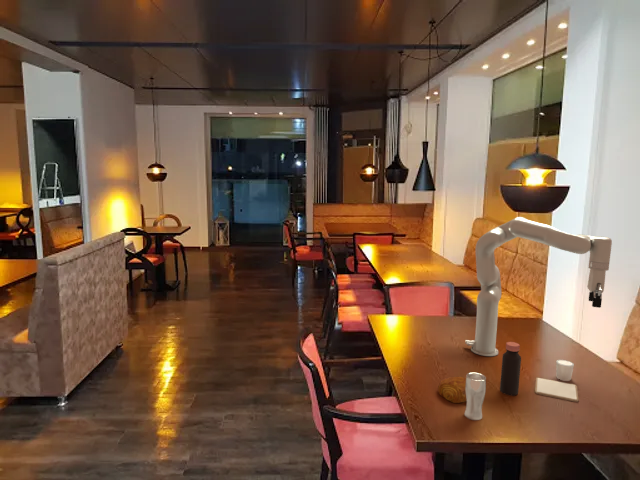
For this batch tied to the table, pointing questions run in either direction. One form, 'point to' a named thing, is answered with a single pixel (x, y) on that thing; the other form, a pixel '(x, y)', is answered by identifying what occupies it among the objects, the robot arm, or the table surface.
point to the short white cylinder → (564, 370)
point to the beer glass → (474, 395)
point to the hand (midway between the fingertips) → (594, 304)
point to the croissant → (453, 389)
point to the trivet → (556, 389)
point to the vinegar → (510, 369)
